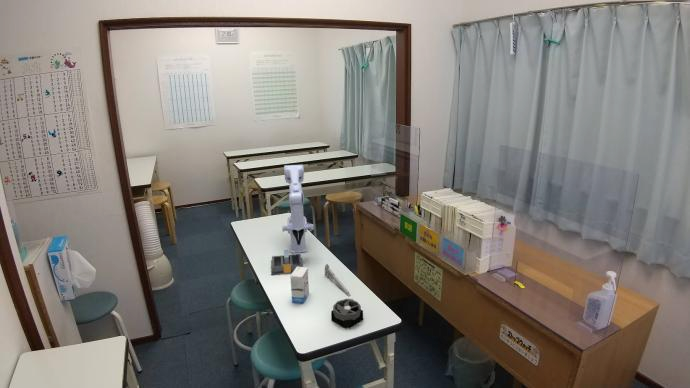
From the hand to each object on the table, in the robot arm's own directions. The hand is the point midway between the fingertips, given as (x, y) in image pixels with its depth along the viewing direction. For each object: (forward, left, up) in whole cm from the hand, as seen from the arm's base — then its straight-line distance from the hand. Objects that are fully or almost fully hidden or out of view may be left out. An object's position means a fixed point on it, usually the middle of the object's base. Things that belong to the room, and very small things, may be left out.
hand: (298, 243), depth 188 cm
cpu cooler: (+50, +14, -10) cm, 53 cm away
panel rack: (+4, -6, -9) cm, 12 cm away
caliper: (+25, +14, -10) cm, 31 cm away
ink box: (+32, -2, -10) cm, 33 cm away
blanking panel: (+4, -6, -9) cm, 11 cm away
